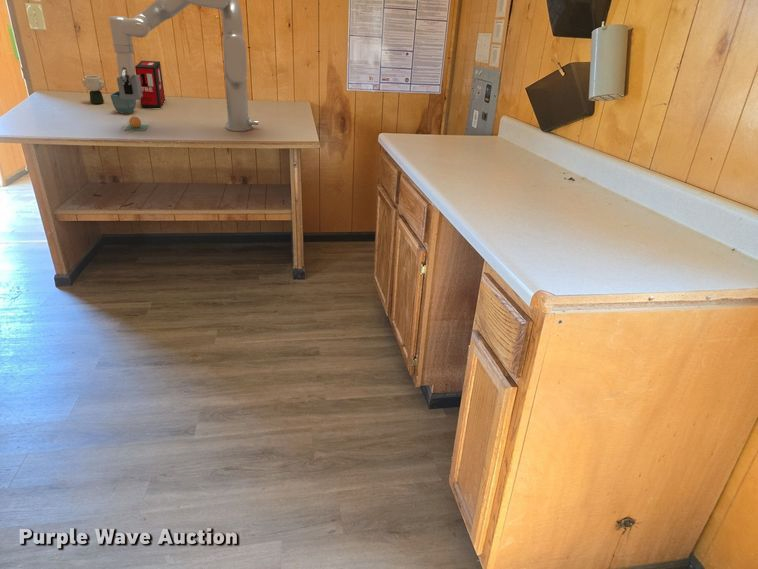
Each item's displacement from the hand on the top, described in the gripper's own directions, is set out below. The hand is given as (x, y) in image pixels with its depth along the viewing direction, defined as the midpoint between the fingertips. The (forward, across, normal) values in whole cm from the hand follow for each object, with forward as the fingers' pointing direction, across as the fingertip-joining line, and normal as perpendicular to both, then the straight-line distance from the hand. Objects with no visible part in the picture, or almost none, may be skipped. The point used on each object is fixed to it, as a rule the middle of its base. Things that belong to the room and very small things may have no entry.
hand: (131, 91), depth 232 cm
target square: (+16, 0, 0) cm, 16 cm away
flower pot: (+16, -26, -10) cm, 32 cm away
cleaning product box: (+16, -43, 0) cm, 46 cm away
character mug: (+16, -42, -27) cm, 52 cm away
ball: (+13, 0, 0) cm, 13 cm away
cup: (+2, 0, 0) cm, 2 cm away
